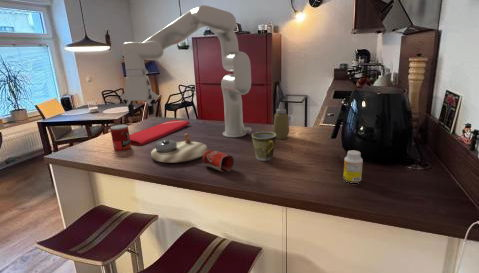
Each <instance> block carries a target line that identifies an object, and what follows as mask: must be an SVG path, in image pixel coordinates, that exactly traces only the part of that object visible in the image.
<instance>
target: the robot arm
mask: <svg viewBox="0 0 479 273" xmlns="http://www.w3.org/2000/svg"><path fill="white" fill-rule="evenodd" d="M205 27H208V28H209V30H210V31H211V32H212V33H213V34H215V36H216V37H217V38H218V40H219V43H220V48H221V49H220V52H221V53H220V54H221V63H222V68H223V69H224V70H225V71H226V72H233V73H228V74H226V75H224V76H223V78H222V79H221V83H220V86H221V91H222V97H223V108H224V110H223V111H224V127H225V128H224V131H223V132H222V136H224V137H226V138H240V137H243V136H246V135H247V133H248V132H249V133H250V132H252V127H250V126H249V127H248V126H247V127H246V126H245V124H244V122H243V120H244V118H243V112H244V111H243V99H242V96H243V95H246V94H249V92H250V90H251V87H252V71H251V70H252V69H251V68H252V66H251V60H250V57H249V55H248V54H247V53H246V52H244V51H240V50H239V41H238V37H237V34H236V33H235V31H234V30H235V29H236V27H237V19H236V16H235V15H234V14H233V13H231V12H230V11H227V10H223V9H219V8H216V7H213V6H210V5H205V4H204V5H203V4H202V5H198V6H196V7H193V8H191V9H189V10H187V12H185V13H184V14H183V15H181V16H180V17H178V18H177V19H175V20H174V21H172V22H171V23H169V24H168V25H166V26H165V27H164V28H162V29H160V30H159V31H157V32H156V33H154V34H153V35H151V36H150V37H148V38H147V39H145V40H144V41H143V42H139V41H128V42H127V41H125V42H123V44H122V52H123V59H124V65H125V66H124V67H125V73H126V77H125V81H124V82H125V85H124V87H125V92H124V93H122V94H121V95H120V98H121V100H122V102H123V103H125V105H126V106H127V109H128V114H129V116H133V115H135V114H136V113H135V105H134V102H146V103H147V105H148V106H147V112H148V116H152V115H154V112H155V110H154V109H155V108H154V105H155V103H156V102H157V100H158V98H159V95H158V94H157V93H155V92H154V91H153V90H152V85H151V81H150V78H149V76H148V75H147V74H149V70H148V69H146V67H145V66H146V65H145V61H146V60H148V61H157V60H159V59H161V58H162V56H163V55H164V51H165V50H166V49H167V48H169V47H171V46H174V45H177V44H180V43H181V42H183V41H185V40H186V39H188V38H189V37H190V36H192V35H193V34H194V33H195V32H197V31H198V30H200V29H201V28H205Z"/></svg>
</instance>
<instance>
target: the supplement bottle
mask: <svg viewBox="0 0 479 273" xmlns="http://www.w3.org/2000/svg"><path fill="white" fill-rule="evenodd" d="M361 154H362V153H361V152H360V151H359V150H354V149H353V150H348V151H347V154H346V156H344V160H343V161H344V163H343V175H342V179H344V180H345V181H346V182H350V183H358V182H360V181H362V174H363V173H362V172H363V164H364V162H363V160H364V159H363V158H362V156H361ZM344 180H343V181H344ZM345 181H344V182H345ZM346 182H345V183H346ZM360 183H361V182H360ZM358 184H359V183H358Z"/></svg>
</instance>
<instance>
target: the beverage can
mask: <svg viewBox="0 0 479 273" xmlns="http://www.w3.org/2000/svg"><path fill="white" fill-rule="evenodd" d="M201 159H202V162H203V164H204V165H205V166H206V167H208V168H211V169H214V170H215V171H216V170H217V171H219V172H222V173H225V174H226V173H228V172H231V170H232V169H233V168H234V166H235V158H234V156H232V155H229V154H226V153H223V152H220V151H217V150H215V149H207V151H206V152H205V153H204V154H203V156H201ZM224 170H225V171H224Z"/></svg>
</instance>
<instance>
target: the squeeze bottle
mask: <svg viewBox="0 0 479 273" xmlns="http://www.w3.org/2000/svg"><path fill="white" fill-rule="evenodd" d="M275 110H276V113H274V119H273V127H272V128H273V129H272V132H273V133H275V134H276V140H284V139H288V136H289V134H290V125H289V115H288V114H287V110H286V109H285V108H284V104H283V101H282V102H281V101H280V102H279V105H278V108H277V109H275Z"/></svg>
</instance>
